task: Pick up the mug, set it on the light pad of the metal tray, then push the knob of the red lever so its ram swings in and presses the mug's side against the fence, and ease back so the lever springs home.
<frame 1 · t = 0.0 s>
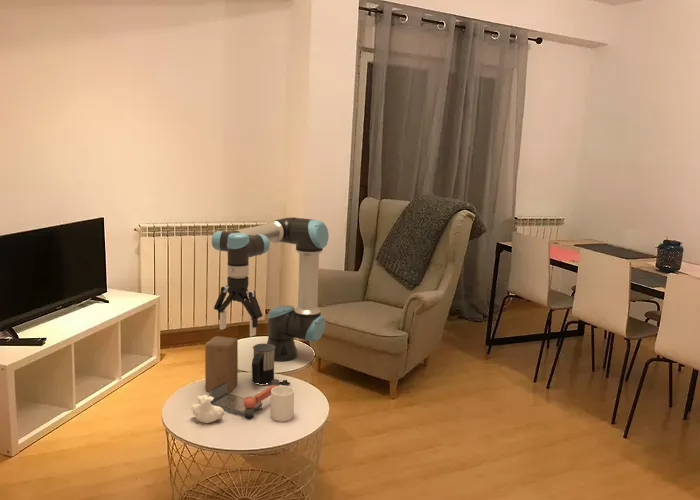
hand: (237, 332, 215), 28 cm above the table, fingers open, 13 cm apart
bust: (206, 421, 206), on the table
metal tray: (234, 406, 218), on the table
lever: (262, 395, 215), point 5 cm above the table, hinge at 0.0°
milk frother: (271, 384, 239), on the table
mug: (282, 415, 213), on the table
wooden block: (221, 388, 233), on the table
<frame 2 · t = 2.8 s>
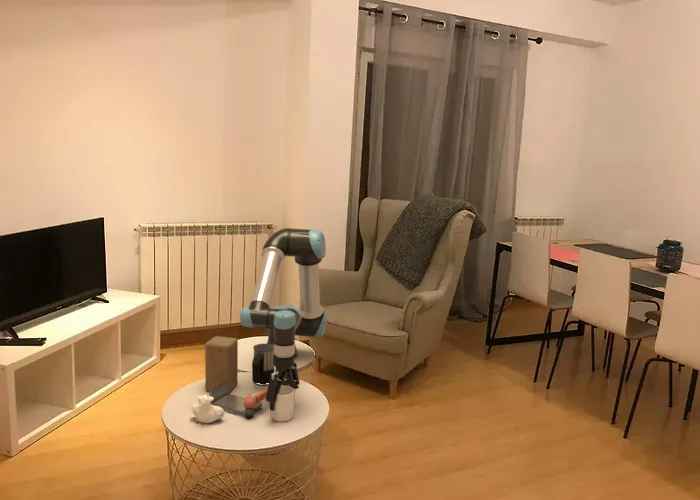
hand: (282, 411, 212), 1 cm above the table, fingers open, 11 cm apart
mug: (282, 414, 213), on the table, touching gripper
everything else where it was.
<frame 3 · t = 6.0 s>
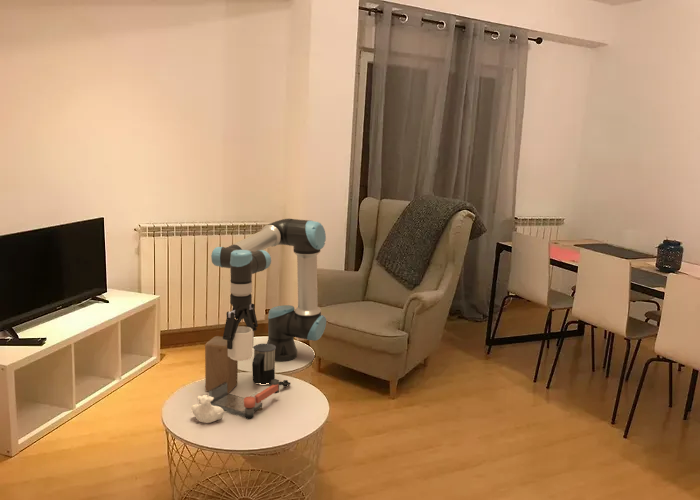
hand: (240, 352, 213), 22 cm above the table, fingers closed on mug, 10 cm apart
mug: (241, 355, 214), point 20 cm above the table, touching gripper
everything else where it was.
when the fingers open (3 cm above the table, at t = 8.9 s): mug stays where it is, resting on metal tray.
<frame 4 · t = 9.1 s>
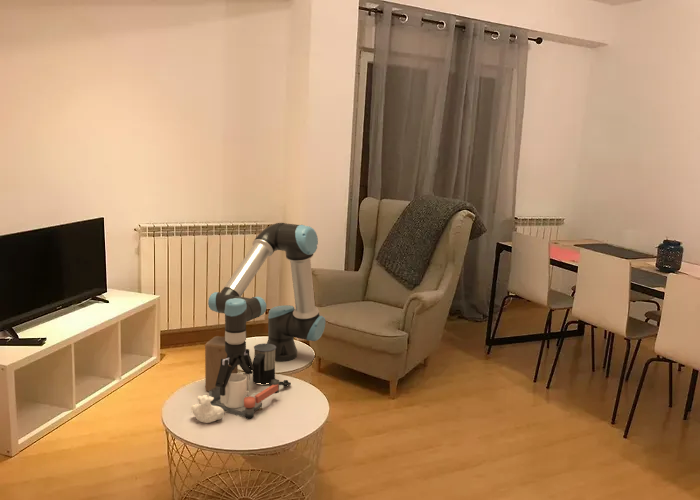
hand: (235, 396, 217), 4 cm above the table, fingers open, 12 cm apart
mug: (235, 402, 218), point 1 cm above the table, touching metal tray
everything else where it was.
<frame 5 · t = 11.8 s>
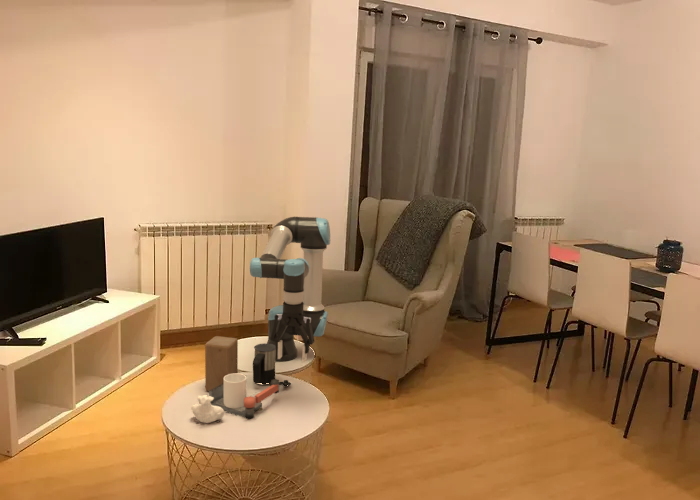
hand: (292, 359, 219), 17 cm above the table, fingers open, 9 cm apart
nothing on the table moved.
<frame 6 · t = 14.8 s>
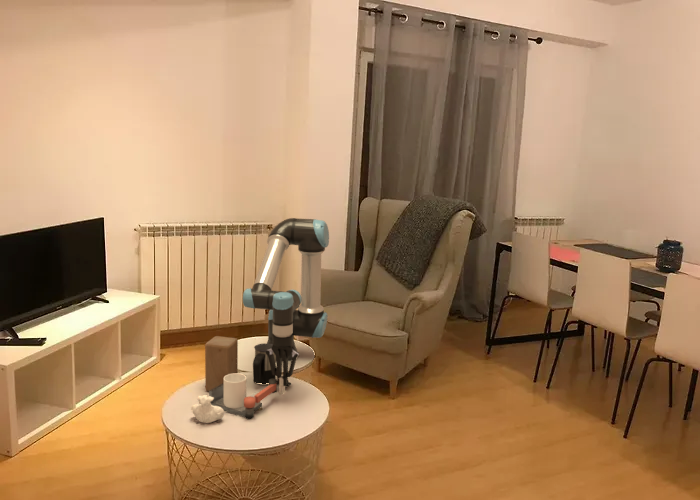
hand: (282, 392, 223), 3 cm above the table, fingers closed
lever: (261, 395, 216), point 5 cm above the table, hinge at 3.5°, touching gripper
everything else where it was.
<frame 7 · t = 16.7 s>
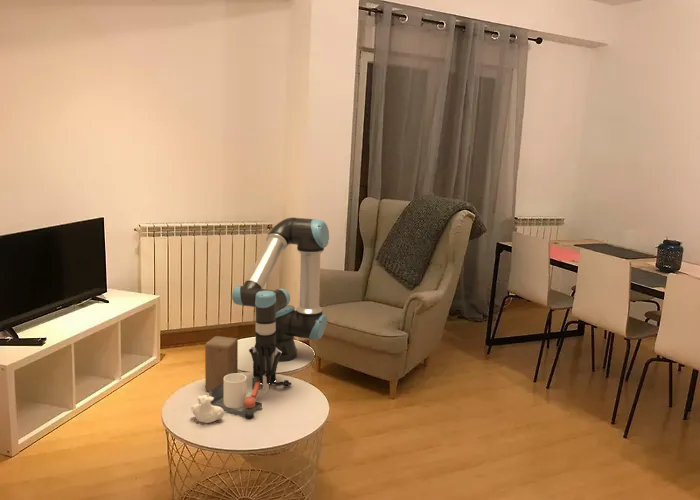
hand: (265, 390, 224), 3 cm above the table, fingers closed
lever: (252, 394, 216), point 5 cm above the table, hinge at 27.5°, touching gripper
everything else where it was.
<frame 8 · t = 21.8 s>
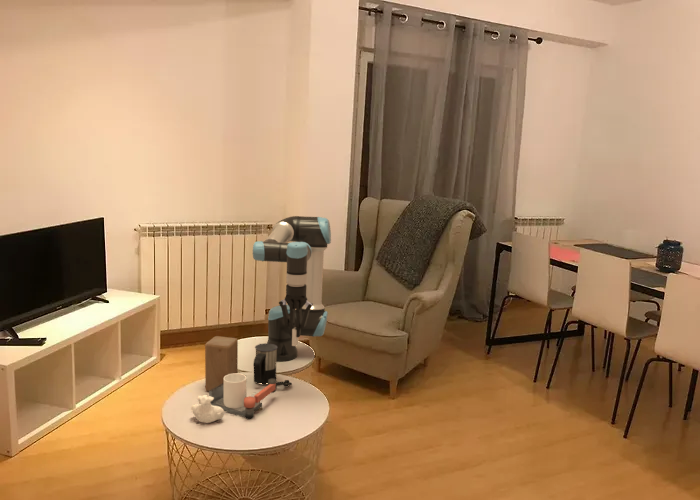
hand: (294, 344, 220), 22 cm above the table, fingers closed
lever: (260, 395, 216), point 5 cm above the table, hinge at 4.8°
everything else where it was.
at the end: mug inside the target area on the metal tray (0.7 cm from its centre), point 1.4 cm above the metal tray's base; mug tilted 0°; lever at +5° (first picture: +0°) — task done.
